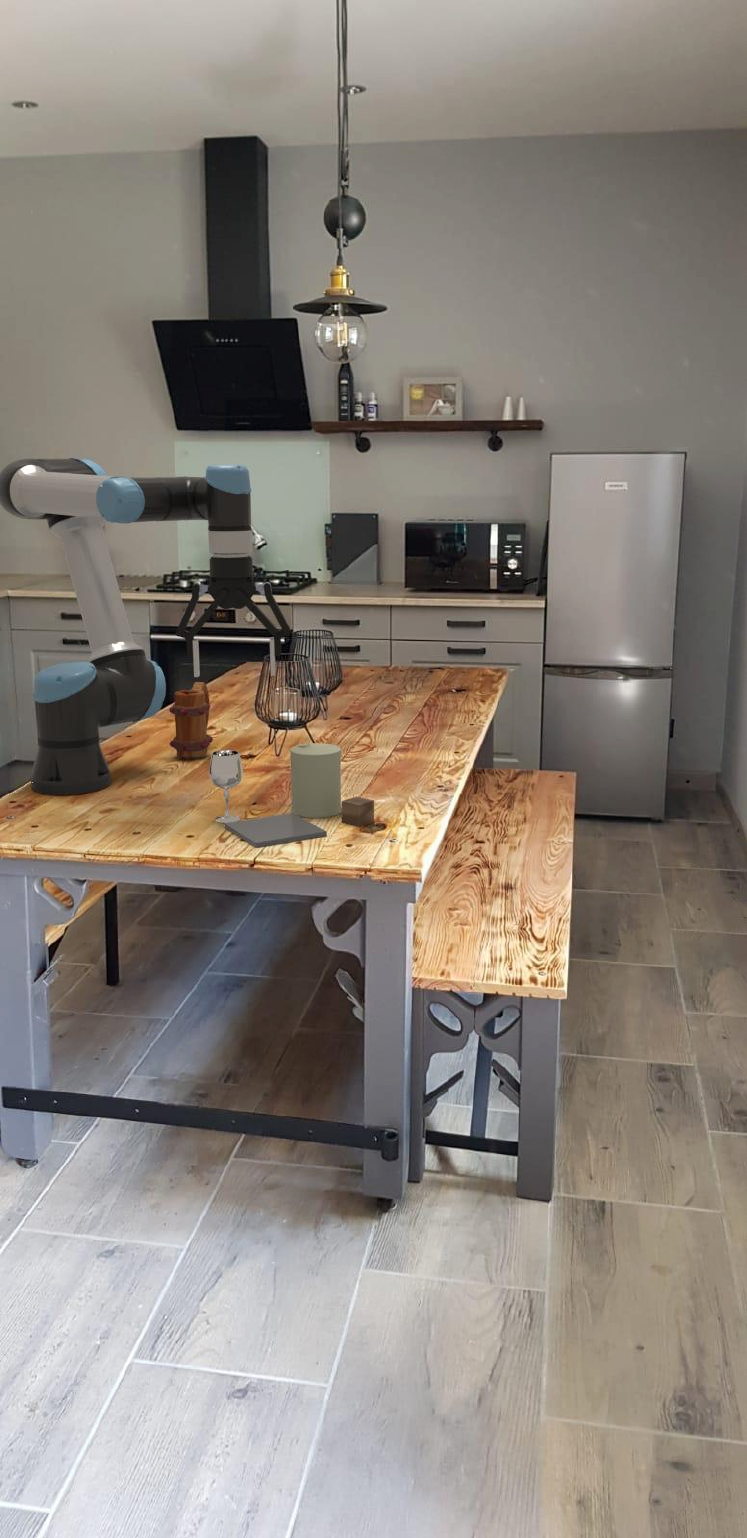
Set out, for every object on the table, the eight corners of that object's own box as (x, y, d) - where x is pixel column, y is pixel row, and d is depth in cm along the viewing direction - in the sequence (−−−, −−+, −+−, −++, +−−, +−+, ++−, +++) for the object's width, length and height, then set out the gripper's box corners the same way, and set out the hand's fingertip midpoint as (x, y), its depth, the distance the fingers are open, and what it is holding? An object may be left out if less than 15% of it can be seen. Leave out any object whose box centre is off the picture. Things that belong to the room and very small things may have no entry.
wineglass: (245, 814, 218) (243, 749, 215) (242, 823, 213) (240, 756, 210) (212, 815, 218) (210, 749, 215) (209, 824, 212) (207, 757, 209)
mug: (202, 762, 256) (200, 692, 253) (165, 761, 258) (162, 690, 254) (224, 747, 270) (222, 680, 267) (189, 746, 272) (187, 679, 268)
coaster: (255, 847, 199) (255, 842, 199) (224, 827, 210) (224, 823, 210) (326, 835, 206) (326, 831, 205) (292, 817, 216) (292, 812, 216)
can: (314, 801, 227) (313, 738, 224) (352, 810, 221) (352, 745, 218) (280, 812, 220) (278, 747, 217) (318, 821, 214) (317, 754, 211)
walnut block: (359, 827, 211) (358, 805, 210) (341, 823, 213) (341, 801, 212) (374, 822, 214) (374, 800, 213) (356, 818, 216) (356, 796, 215)
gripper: (302, 553, 219) (304, 670, 224) (161, 554, 218) (167, 673, 223) (301, 555, 212) (304, 677, 217) (156, 557, 210) (162, 679, 215)
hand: (235, 675), depth 220 cm, fingers open, 13 cm apart
